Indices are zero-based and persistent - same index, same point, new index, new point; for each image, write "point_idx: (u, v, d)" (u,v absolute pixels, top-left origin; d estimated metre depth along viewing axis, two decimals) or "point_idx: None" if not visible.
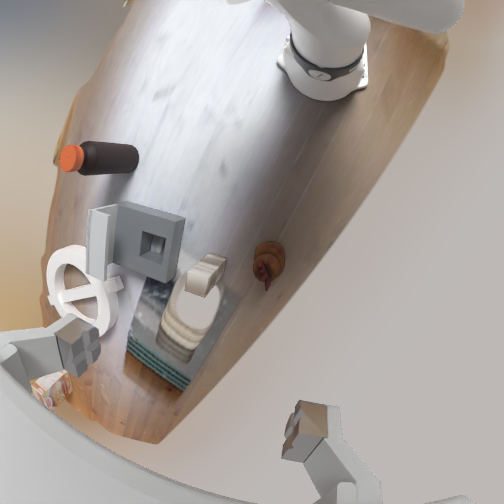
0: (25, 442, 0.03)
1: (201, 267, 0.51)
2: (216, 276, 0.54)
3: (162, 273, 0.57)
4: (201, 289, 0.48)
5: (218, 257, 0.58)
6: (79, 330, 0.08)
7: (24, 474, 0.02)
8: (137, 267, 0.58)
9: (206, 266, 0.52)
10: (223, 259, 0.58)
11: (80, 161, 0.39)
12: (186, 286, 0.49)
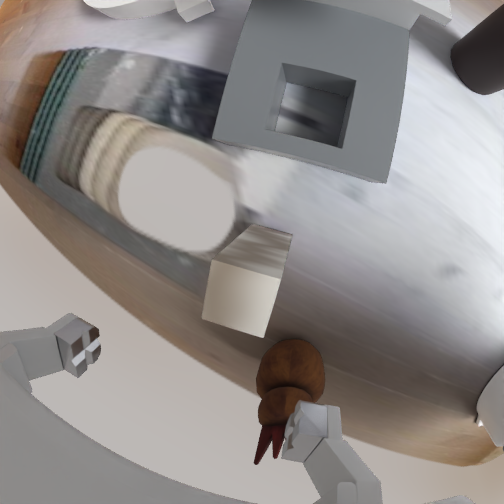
0: (25, 442, 0.03)
1: None
2: None
3: (239, 129, 0.20)
4: (224, 313, 0.16)
5: None
6: (79, 330, 0.08)
7: (24, 474, 0.02)
8: (249, 56, 0.18)
9: None
10: None
11: None
12: (227, 267, 0.15)
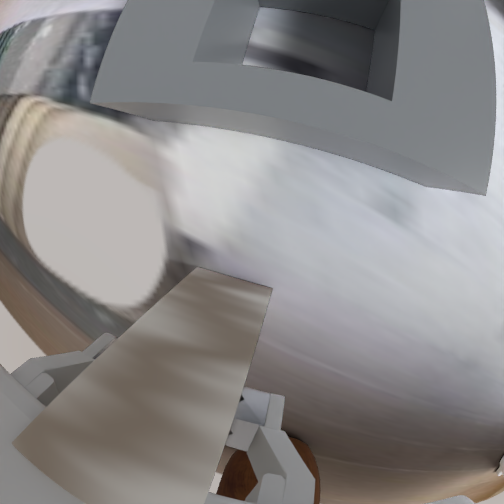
0: None
1: None
2: None
3: (138, 72, 0.07)
4: None
5: None
6: None
7: (24, 474, 0.02)
8: None
9: None
10: None
11: None
12: (45, 474, 0.03)
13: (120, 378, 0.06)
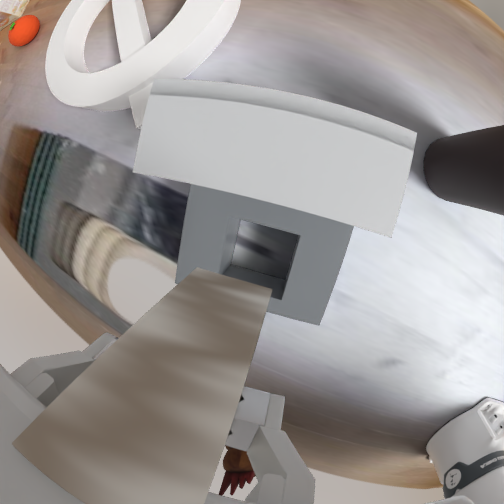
0: None
1: None
2: None
3: None
4: None
5: None
6: None
7: (24, 474, 0.02)
8: (200, 207, 0.23)
9: None
10: None
11: None
12: None
13: (120, 379, 0.06)
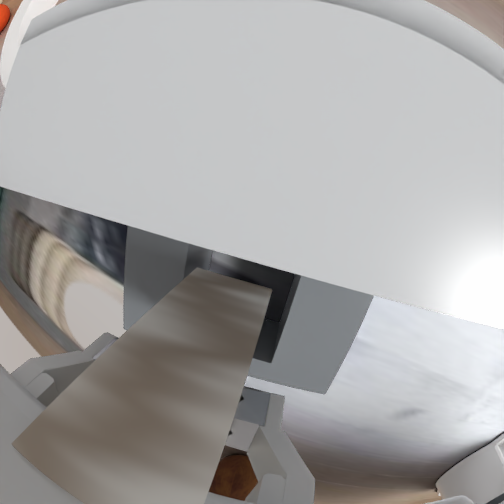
0: None
1: None
2: None
3: None
4: None
5: None
6: None
7: (24, 474, 0.02)
8: None
9: None
10: None
11: None
12: None
13: (120, 379, 0.06)
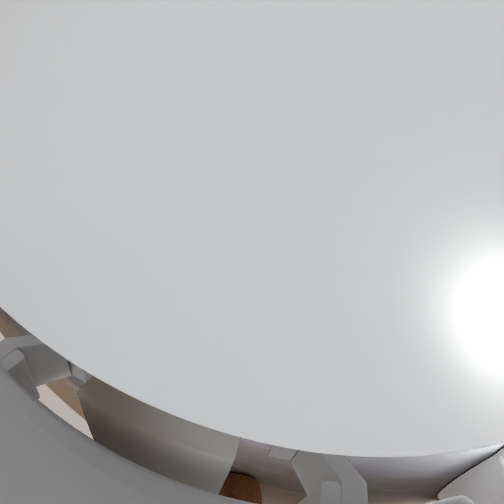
0: (25, 442, 0.03)
1: None
2: None
3: None
4: None
5: None
6: None
7: (24, 474, 0.02)
8: None
9: None
10: None
11: None
12: (109, 415, 0.05)
13: None
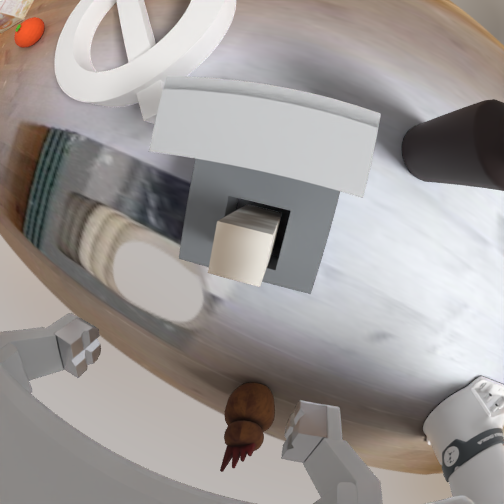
0: (25, 442, 0.03)
1: (272, 242, 0.22)
2: None
3: (198, 253, 0.28)
4: (226, 267, 0.20)
5: (276, 235, 0.30)
6: (79, 330, 0.08)
7: (24, 474, 0.02)
8: (202, 188, 0.26)
9: (272, 245, 0.24)
10: None
11: None
12: (229, 227, 0.19)
13: (240, 216, 0.22)
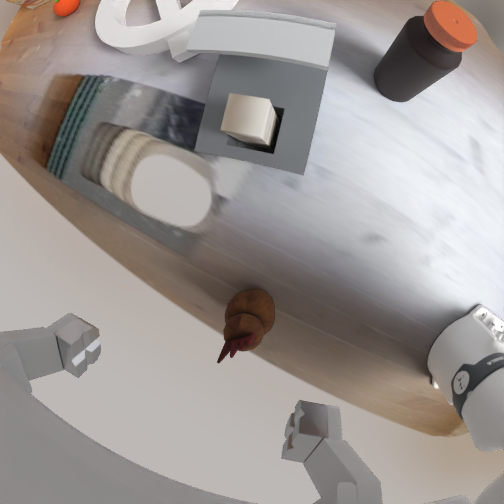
0: (25, 442, 0.03)
1: (270, 119, 0.27)
2: (251, 140, 0.30)
3: (210, 145, 0.32)
4: (235, 123, 0.24)
5: (275, 137, 0.34)
6: (79, 330, 0.08)
7: (24, 474, 0.02)
8: (217, 96, 0.30)
9: (270, 126, 0.28)
10: (272, 146, 0.34)
11: (447, 43, 0.13)
12: (238, 96, 0.24)
13: None
